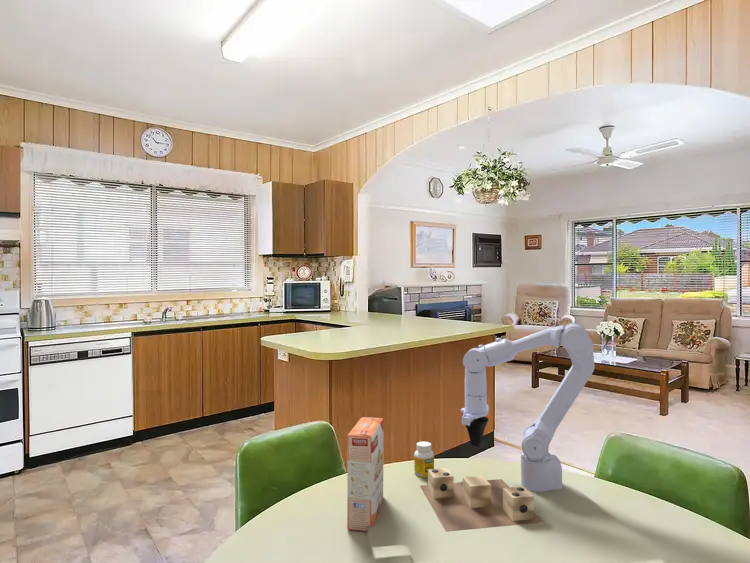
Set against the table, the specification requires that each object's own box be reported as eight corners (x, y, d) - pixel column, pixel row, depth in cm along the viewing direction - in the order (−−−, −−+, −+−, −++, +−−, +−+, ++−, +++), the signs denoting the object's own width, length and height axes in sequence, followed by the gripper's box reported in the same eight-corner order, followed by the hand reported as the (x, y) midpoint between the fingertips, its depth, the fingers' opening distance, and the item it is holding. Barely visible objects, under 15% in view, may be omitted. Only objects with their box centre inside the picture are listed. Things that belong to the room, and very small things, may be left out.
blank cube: (483, 496, 114) (482, 475, 114) (491, 506, 109) (491, 484, 109) (463, 498, 113) (462, 477, 113) (470, 508, 108) (470, 486, 108)
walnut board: (501, 484, 123) (501, 479, 123) (544, 528, 102) (544, 521, 102) (419, 491, 120) (419, 485, 120) (445, 538, 98) (445, 531, 98)
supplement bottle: (423, 473, 131) (422, 438, 131) (438, 479, 127) (438, 443, 127) (410, 479, 127) (410, 443, 127) (425, 485, 124) (425, 448, 123)
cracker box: (373, 533, 100) (372, 436, 100) (346, 531, 102) (345, 434, 101) (385, 502, 114) (384, 416, 114) (361, 500, 115) (360, 415, 115)
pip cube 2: (523, 508, 108) (523, 485, 108) (534, 519, 103) (534, 495, 103) (503, 509, 107) (502, 487, 107) (512, 521, 102) (512, 497, 102)
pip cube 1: (447, 487, 118) (447, 467, 118) (453, 497, 113) (453, 476, 113) (428, 489, 118) (428, 469, 118) (433, 498, 113) (433, 477, 113)
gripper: (471, 386, 133) (471, 434, 133) (450, 398, 121) (450, 450, 121) (496, 389, 129) (496, 439, 129) (476, 401, 117) (477, 456, 117)
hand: (476, 445), depth 125 cm, fingers closed
